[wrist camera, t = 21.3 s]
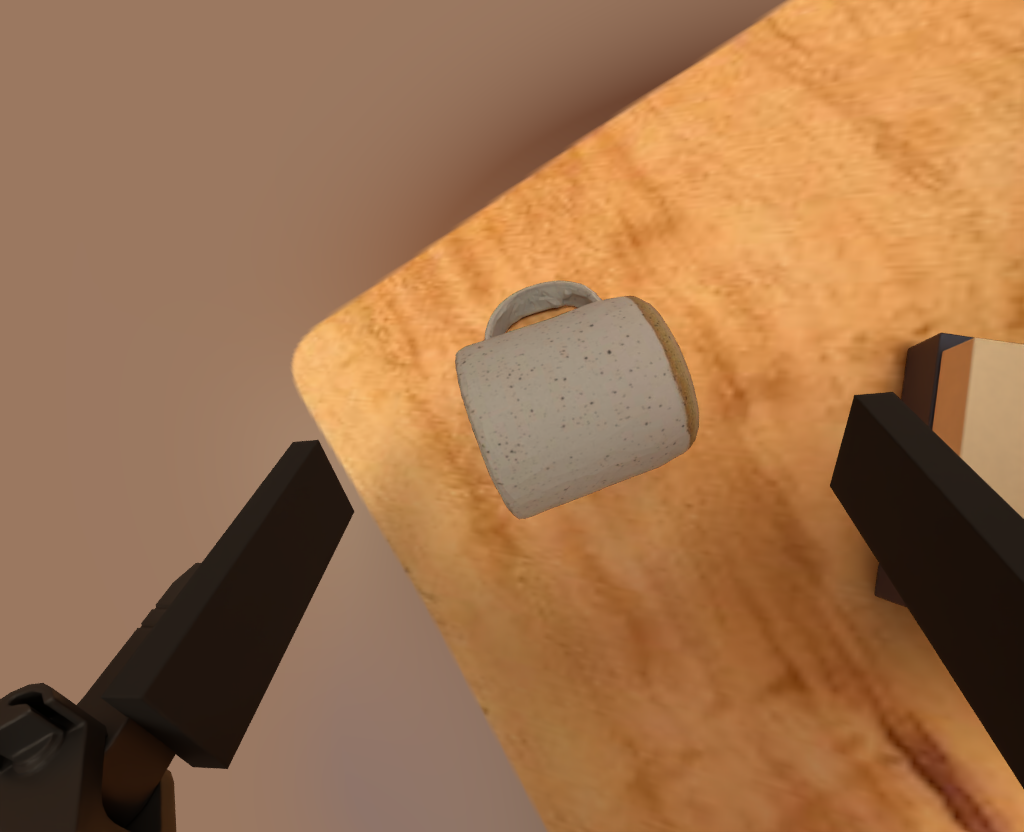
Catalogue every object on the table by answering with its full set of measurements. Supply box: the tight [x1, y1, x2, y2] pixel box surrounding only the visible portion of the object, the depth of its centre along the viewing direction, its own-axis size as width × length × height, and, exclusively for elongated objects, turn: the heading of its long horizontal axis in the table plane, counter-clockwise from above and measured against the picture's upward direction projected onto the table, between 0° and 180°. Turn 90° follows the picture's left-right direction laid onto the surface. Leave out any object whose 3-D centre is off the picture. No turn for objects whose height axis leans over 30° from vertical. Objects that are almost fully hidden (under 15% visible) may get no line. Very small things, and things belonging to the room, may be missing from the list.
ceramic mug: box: [455, 281, 699, 519], centre depth 20 cm, size 11×8×8 cm
